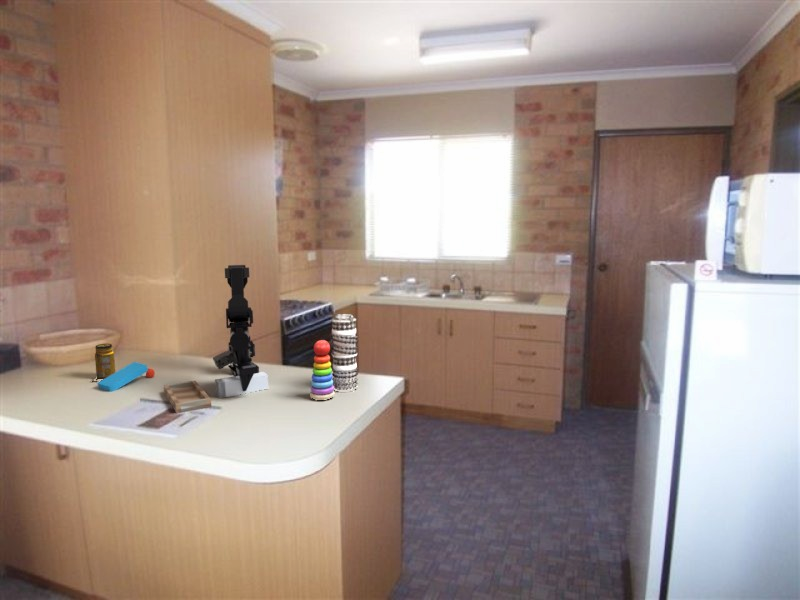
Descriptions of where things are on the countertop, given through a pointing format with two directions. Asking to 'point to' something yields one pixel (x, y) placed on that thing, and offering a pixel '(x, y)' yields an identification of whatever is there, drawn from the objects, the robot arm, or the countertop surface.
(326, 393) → the stacking toy
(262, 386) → the white tall block
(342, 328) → the decorative candle
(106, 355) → the condiment
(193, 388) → the wooden tray
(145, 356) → the countertop surface
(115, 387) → the lever
